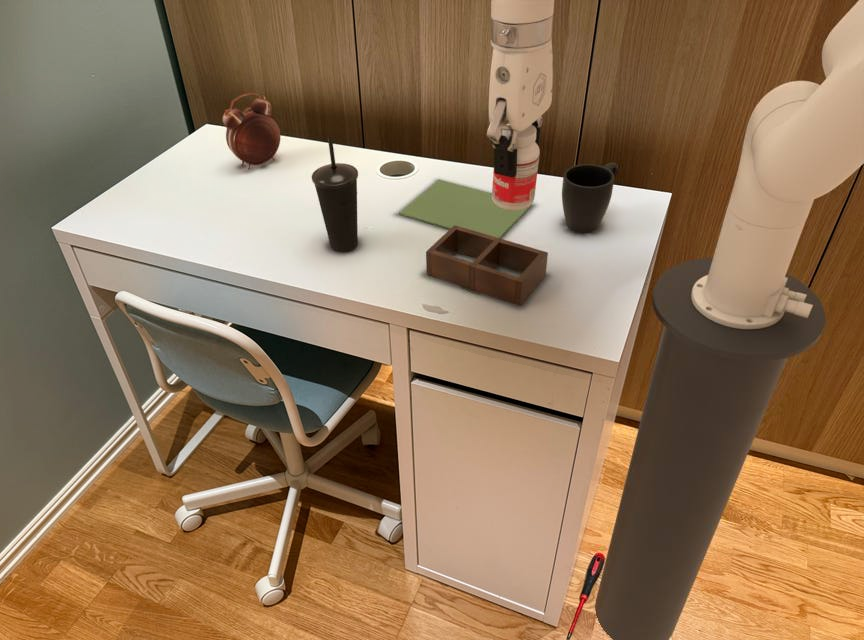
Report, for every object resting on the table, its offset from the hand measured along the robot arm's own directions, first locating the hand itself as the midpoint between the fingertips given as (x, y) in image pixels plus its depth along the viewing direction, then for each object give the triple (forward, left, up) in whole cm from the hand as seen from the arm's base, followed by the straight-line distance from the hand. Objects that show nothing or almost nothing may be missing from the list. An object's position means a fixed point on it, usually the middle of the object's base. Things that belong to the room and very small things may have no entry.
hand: (516, 162), depth 100 cm
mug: (-4, -23, -21) cm, 31 cm away
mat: (+17, -16, -21) cm, 31 cm away
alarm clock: (+65, -12, -21) cm, 70 cm away
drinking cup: (+30, +4, -21) cm, 37 cm away
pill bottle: (0, 0, -6) cm, 6 cm away
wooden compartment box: (+4, 0, -21) cm, 21 cm away
